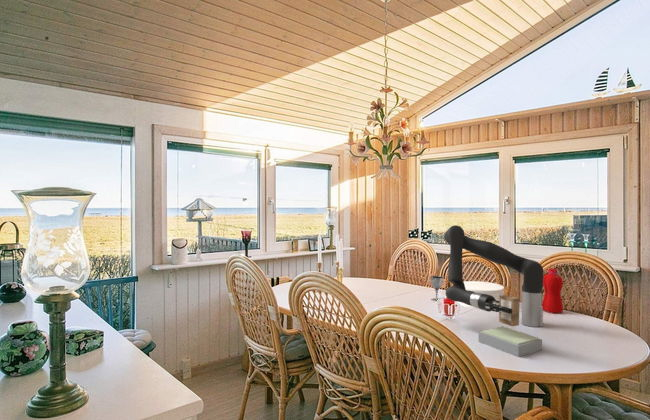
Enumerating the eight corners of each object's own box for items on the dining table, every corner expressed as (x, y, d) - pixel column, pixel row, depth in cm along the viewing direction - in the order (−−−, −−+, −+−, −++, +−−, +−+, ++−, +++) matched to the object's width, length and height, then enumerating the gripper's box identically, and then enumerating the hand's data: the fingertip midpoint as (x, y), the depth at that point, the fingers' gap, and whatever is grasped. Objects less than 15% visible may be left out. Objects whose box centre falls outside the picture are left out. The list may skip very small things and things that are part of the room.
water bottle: (552, 315, 220) (553, 270, 220) (539, 309, 231) (540, 267, 230) (567, 314, 221) (568, 270, 221) (554, 309, 232) (554, 267, 232)
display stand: (542, 349, 168) (542, 338, 168) (518, 356, 161) (518, 344, 161) (501, 335, 186) (501, 325, 186) (478, 341, 178) (478, 330, 178)
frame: (518, 325, 171) (519, 298, 171) (512, 326, 169) (513, 299, 169) (504, 320, 177) (505, 294, 177) (498, 322, 175) (499, 295, 175)
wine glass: (443, 301, 251) (443, 278, 250) (430, 301, 252) (430, 277, 252) (442, 298, 258) (442, 276, 258) (430, 298, 260) (430, 275, 260)
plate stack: (489, 312, 226) (489, 292, 226) (447, 302, 248) (447, 285, 248) (512, 304, 244) (512, 286, 244) (471, 296, 266) (471, 279, 265)
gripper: (472, 295, 182) (504, 304, 167) (492, 292, 189) (525, 300, 174) (471, 311, 183) (503, 321, 167) (492, 307, 189) (525, 316, 174)
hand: (514, 310), depth 171 cm, fingers closed on frame, 4 cm apart
